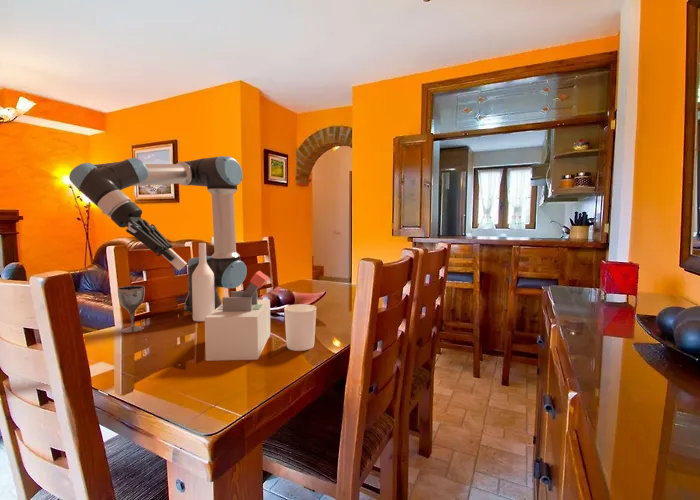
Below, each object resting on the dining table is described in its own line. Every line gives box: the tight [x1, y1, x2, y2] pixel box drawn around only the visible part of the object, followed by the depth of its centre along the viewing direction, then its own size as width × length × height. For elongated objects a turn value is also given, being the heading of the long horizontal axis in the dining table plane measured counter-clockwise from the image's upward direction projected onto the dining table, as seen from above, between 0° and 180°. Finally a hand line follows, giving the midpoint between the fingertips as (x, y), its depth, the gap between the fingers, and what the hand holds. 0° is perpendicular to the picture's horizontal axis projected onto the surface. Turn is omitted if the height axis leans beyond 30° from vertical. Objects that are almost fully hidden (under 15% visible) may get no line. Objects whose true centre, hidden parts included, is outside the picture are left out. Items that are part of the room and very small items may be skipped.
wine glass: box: [117, 284, 146, 334], centre depth 120 cm, size 8×8×15 cm
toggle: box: [241, 270, 270, 298], centre depth 104 cm, size 6×4×11 cm
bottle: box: [192, 242, 215, 322], centre depth 134 cm, size 8×8×30 cm
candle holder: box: [283, 303, 317, 352], centre depth 105 cm, size 10×10×12 cm
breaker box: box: [204, 290, 271, 362], centre depth 104 cm, size 22×14×16 cm, turn 4°
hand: (182, 266), depth 102 cm, fingers closed
